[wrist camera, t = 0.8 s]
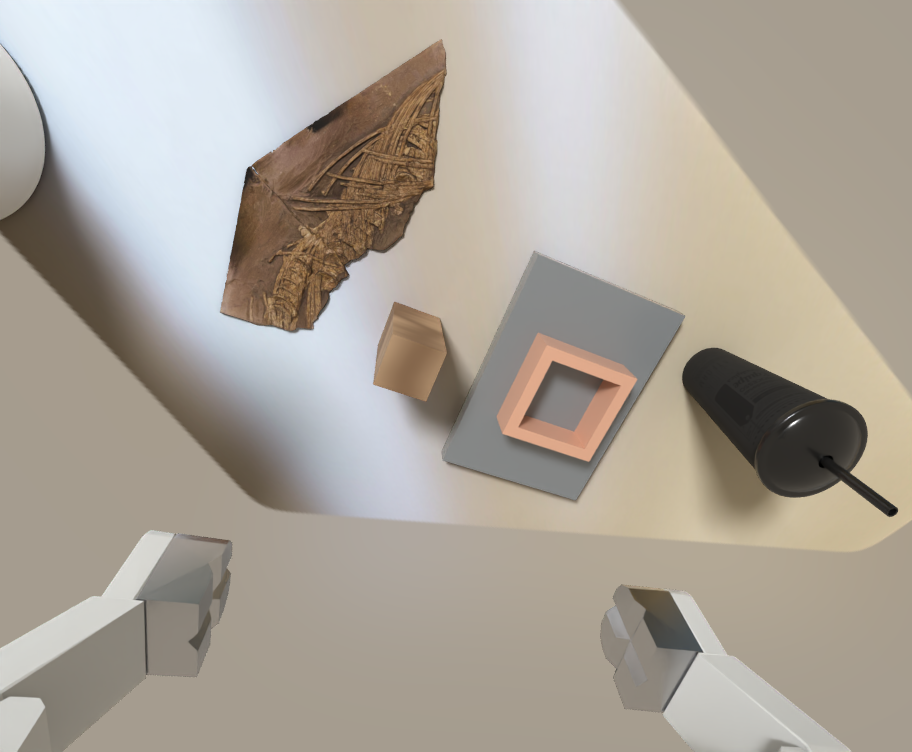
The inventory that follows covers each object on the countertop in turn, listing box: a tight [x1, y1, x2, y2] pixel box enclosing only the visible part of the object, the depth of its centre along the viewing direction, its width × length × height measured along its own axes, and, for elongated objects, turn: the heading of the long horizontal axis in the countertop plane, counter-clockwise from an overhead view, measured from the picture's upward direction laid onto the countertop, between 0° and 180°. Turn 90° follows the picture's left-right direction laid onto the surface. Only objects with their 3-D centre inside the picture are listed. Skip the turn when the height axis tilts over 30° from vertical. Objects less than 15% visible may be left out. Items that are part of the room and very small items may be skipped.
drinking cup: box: [682, 348, 898, 517], centre depth 39 cm, size 8×8×20 cm
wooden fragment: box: [220, 39, 446, 331], centre depth 39 cm, size 26×11×1 cm, turn 134°
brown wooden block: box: [373, 302, 447, 401], centre depth 40 cm, size 4×4×8 cm
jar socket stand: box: [442, 251, 685, 500], centre depth 45 cm, size 14×20×4 cm
